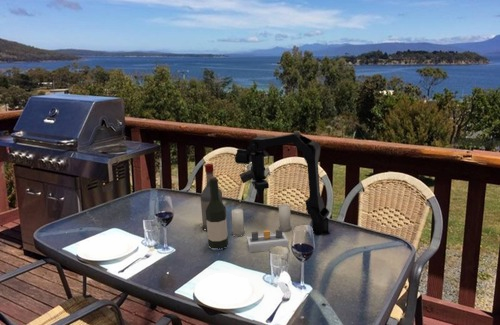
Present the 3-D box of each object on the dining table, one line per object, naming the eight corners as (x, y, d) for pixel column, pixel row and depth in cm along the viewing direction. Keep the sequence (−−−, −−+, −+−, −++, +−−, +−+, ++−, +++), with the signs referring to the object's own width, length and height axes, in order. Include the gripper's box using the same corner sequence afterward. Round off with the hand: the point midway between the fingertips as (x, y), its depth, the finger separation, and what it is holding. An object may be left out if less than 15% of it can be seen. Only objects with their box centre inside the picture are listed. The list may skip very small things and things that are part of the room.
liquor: (222, 231, 191) (218, 167, 183) (202, 231, 191) (197, 168, 183) (224, 223, 200) (220, 161, 192) (205, 223, 200) (200, 162, 192)
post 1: (244, 230, 190) (243, 207, 187) (245, 236, 184) (244, 212, 182) (231, 232, 189) (230, 209, 187) (232, 237, 184) (231, 213, 181)
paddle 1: (257, 238, 174) (257, 231, 173) (258, 239, 173) (258, 232, 172) (251, 238, 174) (251, 232, 173) (252, 240, 172) (251, 233, 172)
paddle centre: (269, 236, 175) (269, 230, 174) (270, 238, 173) (270, 231, 173) (263, 237, 174) (263, 230, 174) (264, 239, 173) (264, 232, 172)
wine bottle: (204, 248, 175) (198, 179, 167) (215, 240, 182) (210, 173, 174) (221, 252, 171) (216, 181, 163) (232, 243, 178) (227, 175, 170)
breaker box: (284, 238, 180) (283, 231, 179) (288, 248, 171) (288, 240, 170) (246, 242, 178) (246, 235, 177) (249, 252, 169) (249, 244, 169)
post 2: (290, 226, 192) (289, 203, 190) (292, 231, 187) (292, 208, 184) (277, 227, 192) (276, 204, 189) (280, 232, 186) (279, 209, 183)
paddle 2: (281, 235, 175) (281, 229, 174) (282, 237, 174) (282, 230, 173) (275, 236, 175) (275, 229, 174) (276, 237, 174) (276, 231, 173)
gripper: (238, 161, 199) (239, 192, 203) (242, 172, 181) (244, 206, 185) (261, 159, 200) (262, 190, 204) (268, 170, 182) (269, 204, 186)
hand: (259, 197), depth 195 cm, fingers closed
